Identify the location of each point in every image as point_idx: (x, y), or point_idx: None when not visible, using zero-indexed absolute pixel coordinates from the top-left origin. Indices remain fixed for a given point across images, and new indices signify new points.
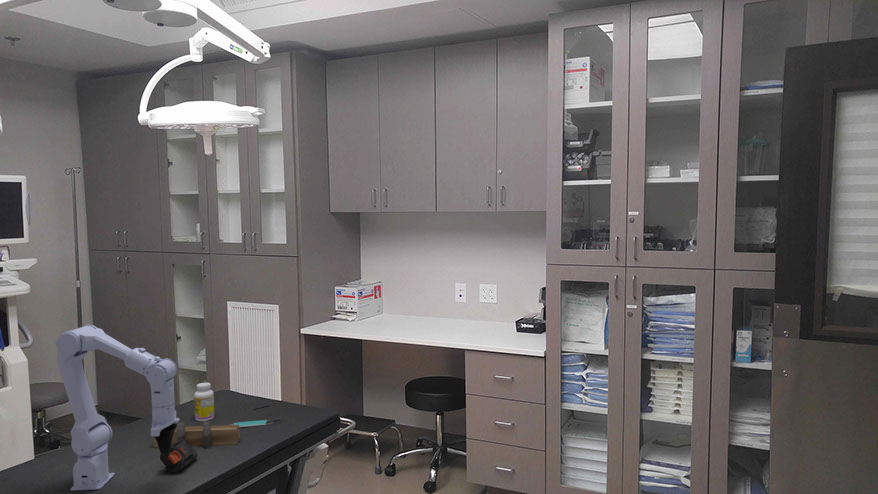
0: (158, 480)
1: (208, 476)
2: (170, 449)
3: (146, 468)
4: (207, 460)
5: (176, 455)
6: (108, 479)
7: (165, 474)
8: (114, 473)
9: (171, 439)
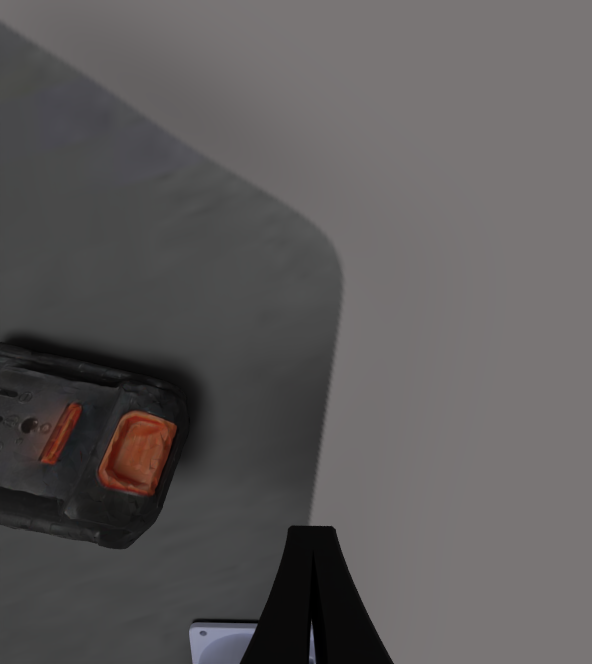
0: (257, 450)
1: (226, 206)
2: (106, 515)
3: None
4: (10, 275)
5: (120, 449)
6: (252, 629)
7: (193, 439)
8: (195, 627)
9: (289, 633)
